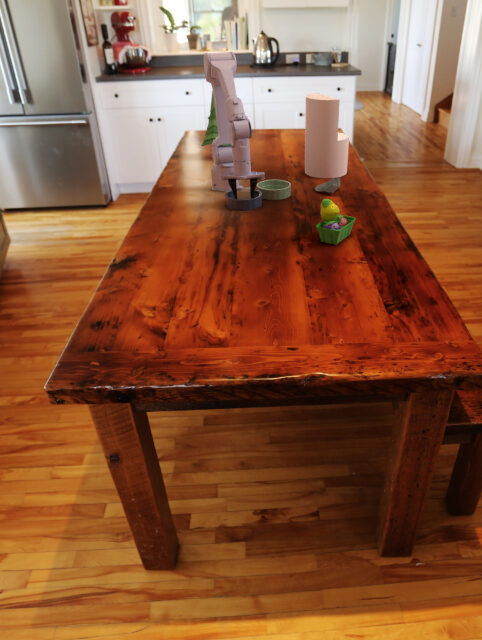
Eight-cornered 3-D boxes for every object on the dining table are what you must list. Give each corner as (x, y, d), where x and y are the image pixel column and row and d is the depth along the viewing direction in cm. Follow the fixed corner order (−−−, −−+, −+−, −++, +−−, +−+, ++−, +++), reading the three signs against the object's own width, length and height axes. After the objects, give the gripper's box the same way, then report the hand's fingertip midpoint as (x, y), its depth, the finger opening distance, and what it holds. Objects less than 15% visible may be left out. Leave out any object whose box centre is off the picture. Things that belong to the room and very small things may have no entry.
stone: (319, 200, 174) (346, 191, 173) (316, 189, 172) (343, 180, 171) (315, 193, 183) (341, 184, 182) (312, 183, 181) (338, 174, 180)
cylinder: (316, 180, 190) (318, 101, 174) (297, 169, 203) (298, 94, 187) (354, 174, 196) (360, 97, 180) (334, 164, 209) (337, 91, 193)
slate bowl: (219, 208, 165) (218, 196, 162) (238, 197, 174) (237, 186, 171) (251, 214, 160) (250, 202, 158) (268, 202, 169) (268, 191, 167)
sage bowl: (251, 198, 173) (250, 187, 171) (267, 188, 182) (266, 177, 180) (281, 203, 168) (281, 191, 166) (296, 193, 177) (296, 182, 175)
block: (237, 206, 165) (236, 191, 162) (238, 202, 168) (237, 187, 165) (250, 206, 165) (250, 191, 162) (250, 201, 169) (250, 187, 166)
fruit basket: (338, 247, 138) (340, 209, 131) (310, 241, 142) (311, 203, 135) (355, 234, 146) (358, 197, 139) (329, 228, 149) (330, 192, 143)
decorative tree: (199, 161, 214) (191, 85, 196) (210, 152, 226) (203, 80, 209) (229, 162, 212) (224, 85, 194) (238, 153, 224) (234, 80, 207)
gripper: (218, 163, 155) (222, 205, 162) (264, 162, 155) (265, 204, 163) (219, 157, 160) (223, 198, 168) (263, 156, 161) (265, 197, 169)
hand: (244, 201), depth 166 cm, fingers closed on block, 4 cm apart
